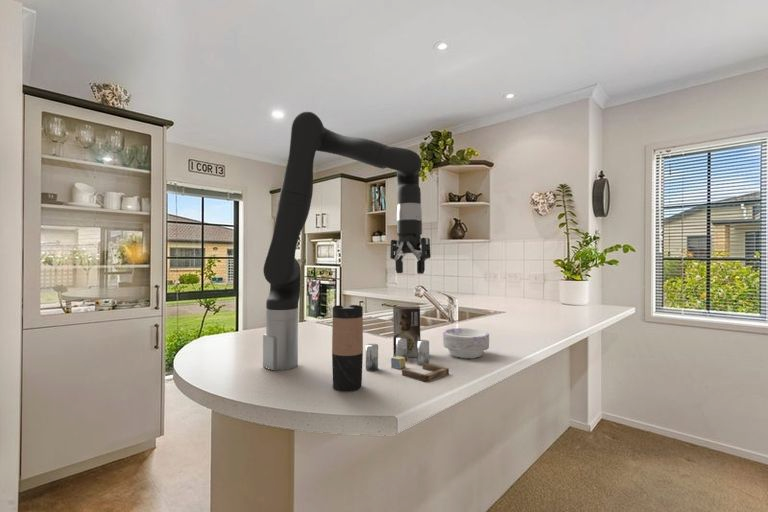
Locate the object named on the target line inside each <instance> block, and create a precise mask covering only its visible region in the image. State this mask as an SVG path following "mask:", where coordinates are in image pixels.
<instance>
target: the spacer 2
mask: <svg viewBox="0 0 768 512" xmlns="http://www.w3.org/2000/svg"><path fill="white" fill-rule="evenodd" d="M396 356H400V357H405V362H406V361H408V357H407V337H396Z"/></svg>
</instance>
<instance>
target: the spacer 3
mask: <svg viewBox="0 0 768 512" xmlns="http://www.w3.org/2000/svg"><path fill="white" fill-rule="evenodd" d="M416 358H417V361H416V362H417V364H416V365H418V366H421V367H423V363H427V364H430V341H429V340H426V339H420V340H418V341H417V357H416Z"/></svg>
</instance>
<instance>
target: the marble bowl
mask: <svg viewBox="0 0 768 512" xmlns="http://www.w3.org/2000/svg"><path fill="white" fill-rule="evenodd" d="M442 345H443V347H444V348H446V349H448V351H449V354H450V355H451V356H452V357H455V358H458V357H460V358H459V359H467V358H471V359H477V357H478V358H480V357H481V356H482V355H483V353H484V351H487V350H489V348H490V333H488V332H487V331H485V330H482V329H476V328H468V327H467V328H466V327H460V328H459V327H457V328H456V327H455V328H447V329H444V330H443V332H442Z"/></svg>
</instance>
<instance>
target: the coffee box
mask: <svg viewBox="0 0 768 512" xmlns="http://www.w3.org/2000/svg"><path fill="white" fill-rule="evenodd" d="M392 319H393V320H392V323H393V324H392V325H393V326H392V327H393V329H392V331H393V333H392V334H393V337H392V339H393V340H392V341H393V342H392V343H393V348H392V349H393V356H392V358H393V357H396V337H407V358H417V341H418V340H421V306H418V305H417V306H413V305H410V306H409V305H408V306H407V305H406V306H405V305H401V306H400V305H399V306H398V305H395V306H394V307H393V308H392Z"/></svg>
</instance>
